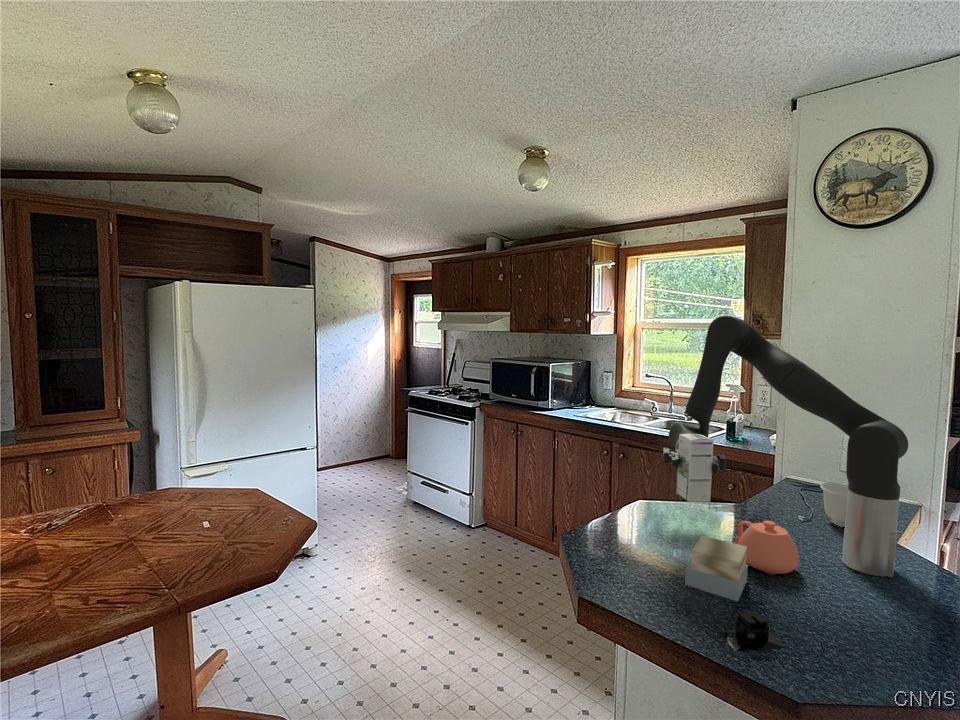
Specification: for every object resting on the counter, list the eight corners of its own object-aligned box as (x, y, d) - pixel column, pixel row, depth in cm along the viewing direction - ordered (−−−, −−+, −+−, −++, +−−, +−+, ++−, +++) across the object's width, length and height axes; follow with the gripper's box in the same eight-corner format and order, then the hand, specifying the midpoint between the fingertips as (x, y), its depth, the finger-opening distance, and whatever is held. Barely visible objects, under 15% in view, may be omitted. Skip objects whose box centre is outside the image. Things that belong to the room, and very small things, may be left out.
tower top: (745, 564, 108) (746, 546, 108) (739, 582, 100) (740, 562, 100) (700, 553, 113) (701, 535, 113) (690, 568, 106) (692, 549, 105)
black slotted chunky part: (730, 658, 84) (732, 631, 83) (705, 631, 91) (706, 606, 91) (798, 654, 85) (801, 627, 85) (769, 627, 93) (771, 603, 92)
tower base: (746, 583, 108) (747, 565, 108) (737, 603, 100) (739, 583, 100) (696, 568, 114) (698, 551, 114) (684, 586, 106) (685, 568, 106)
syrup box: (711, 502, 115) (715, 439, 114) (686, 502, 115) (690, 438, 114) (698, 493, 121) (702, 433, 120) (674, 493, 120) (678, 433, 119)
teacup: (867, 519, 145) (870, 485, 145) (873, 537, 133) (876, 500, 132) (816, 510, 152) (819, 477, 151) (817, 526, 139) (820, 490, 138)
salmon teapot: (776, 584, 107) (779, 537, 106) (717, 556, 120) (720, 514, 119) (810, 572, 113) (813, 527, 112) (751, 547, 125) (754, 506, 124)
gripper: (662, 432, 133) (662, 446, 117) (723, 438, 128) (731, 453, 113) (660, 461, 133) (660, 478, 118) (721, 468, 129) (729, 487, 113)
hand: (695, 466), depth 115 cm, fingers closed on syrup box, 7 cm apart
